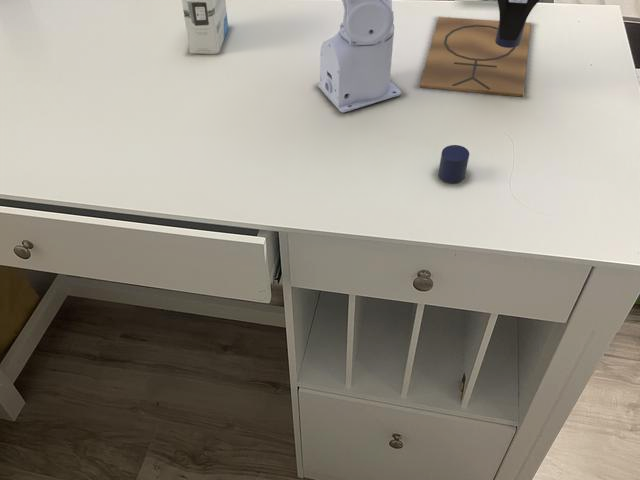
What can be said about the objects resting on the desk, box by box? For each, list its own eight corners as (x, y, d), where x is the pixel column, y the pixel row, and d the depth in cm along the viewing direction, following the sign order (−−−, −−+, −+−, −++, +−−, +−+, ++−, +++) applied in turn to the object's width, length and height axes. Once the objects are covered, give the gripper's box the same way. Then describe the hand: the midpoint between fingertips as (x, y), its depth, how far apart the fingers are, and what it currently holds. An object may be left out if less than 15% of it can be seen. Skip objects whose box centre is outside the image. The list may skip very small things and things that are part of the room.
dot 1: (447, 186, 81) (451, 164, 79) (433, 171, 83) (436, 149, 81) (470, 178, 82) (474, 156, 79) (455, 164, 84) (459, 141, 81)
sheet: (522, 96, 92) (523, 93, 91) (419, 87, 95) (419, 84, 95) (530, 25, 103) (531, 22, 103) (438, 19, 107) (438, 16, 107)
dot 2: (504, 50, 87) (510, 25, 84) (490, 39, 89) (495, 14, 86) (525, 43, 87) (532, 18, 85) (511, 33, 89) (516, 8, 87)
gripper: (570, -53, 71) (538, 63, 82) (573, -104, 80) (545, 7, 90) (501, -56, 73) (478, 58, 84) (512, -105, 82) (490, 3, 92)
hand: (509, 31), depth 87 cm, fingers closed on dot 2, 3 cm apart
